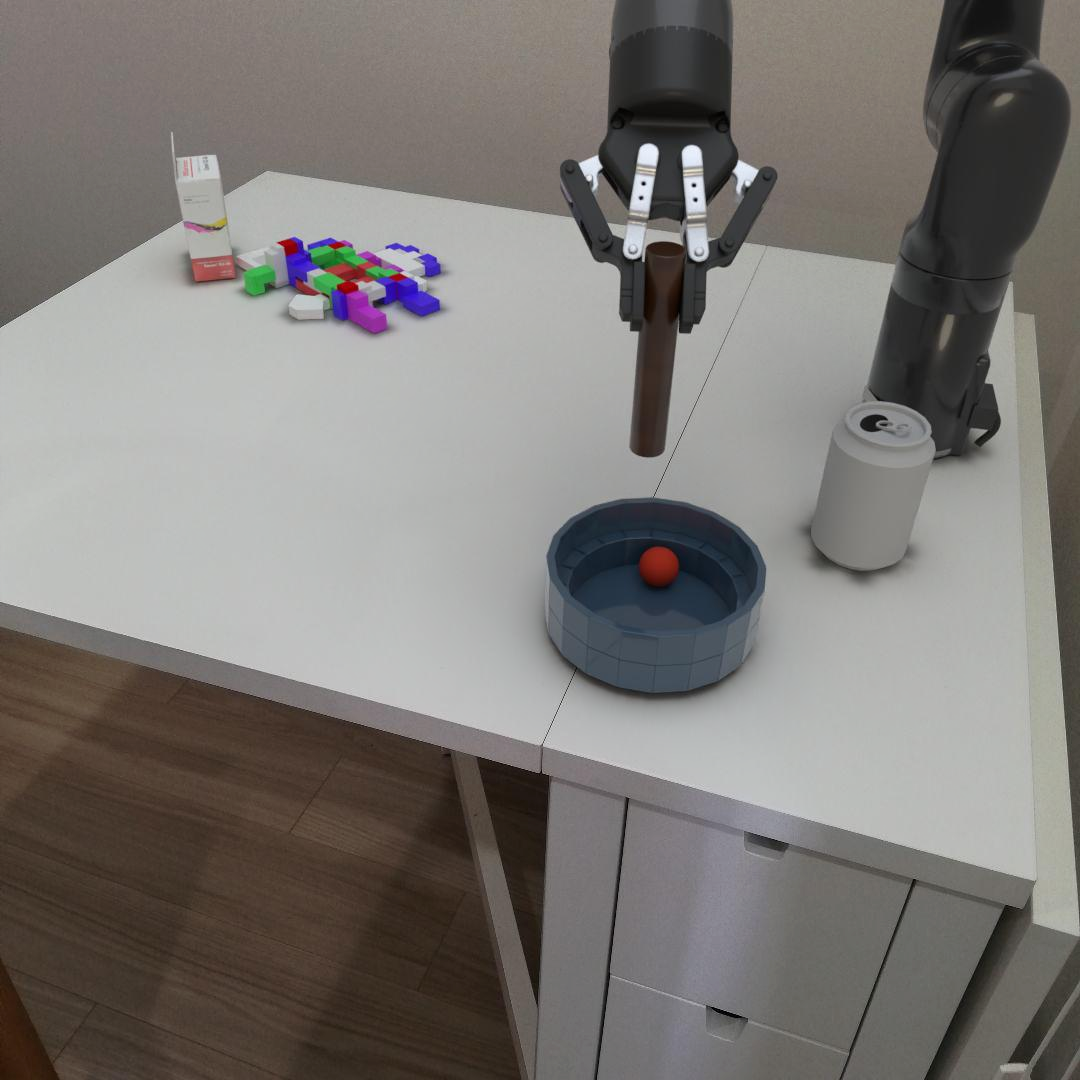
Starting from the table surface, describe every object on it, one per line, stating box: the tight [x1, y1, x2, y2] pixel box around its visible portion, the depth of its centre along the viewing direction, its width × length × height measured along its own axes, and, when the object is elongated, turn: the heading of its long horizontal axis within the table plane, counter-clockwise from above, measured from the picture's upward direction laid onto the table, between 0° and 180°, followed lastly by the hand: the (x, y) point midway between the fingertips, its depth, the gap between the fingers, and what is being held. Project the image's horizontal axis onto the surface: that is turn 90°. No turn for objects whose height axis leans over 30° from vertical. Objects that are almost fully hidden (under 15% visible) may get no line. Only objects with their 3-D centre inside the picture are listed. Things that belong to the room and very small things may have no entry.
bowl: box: [544, 496, 767, 694], centre depth 76 cm, size 15×15×6 cm
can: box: [810, 401, 936, 572], centre depth 81 cm, size 8×8×12 cm
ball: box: [639, 547, 679, 587], centre depth 79 cm, size 3×3×3 cm
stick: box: [628, 240, 686, 459], centre depth 67 cm, size 2×2×14 cm
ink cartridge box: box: [170, 131, 237, 282], centre depth 121 cm, size 9×5×15 cm, turn 17°
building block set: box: [235, 236, 442, 334], centre depth 121 cm, size 25×20×4 cm
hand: (661, 327), depth 63 cm, fingers closed on stick, 2 cm apart
